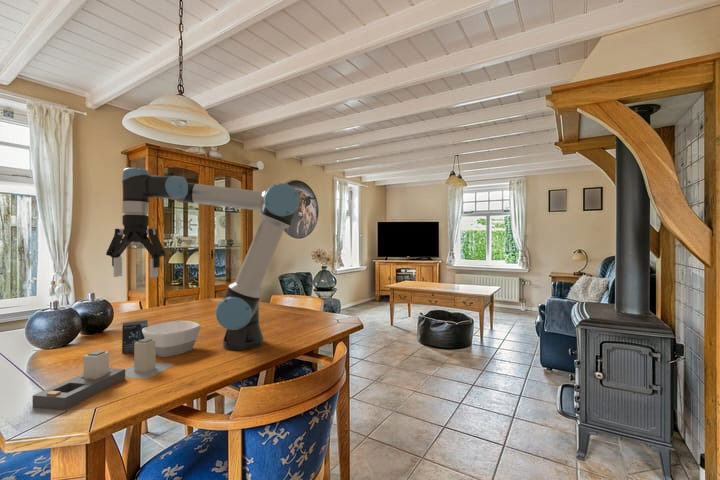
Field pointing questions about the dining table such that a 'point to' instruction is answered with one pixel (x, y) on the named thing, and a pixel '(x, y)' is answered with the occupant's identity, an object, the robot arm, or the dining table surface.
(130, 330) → the box
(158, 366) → the tray
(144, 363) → the twin plug
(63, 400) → the grey socket block
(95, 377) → the plug
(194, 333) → the bowl
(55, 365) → the dining table surface
